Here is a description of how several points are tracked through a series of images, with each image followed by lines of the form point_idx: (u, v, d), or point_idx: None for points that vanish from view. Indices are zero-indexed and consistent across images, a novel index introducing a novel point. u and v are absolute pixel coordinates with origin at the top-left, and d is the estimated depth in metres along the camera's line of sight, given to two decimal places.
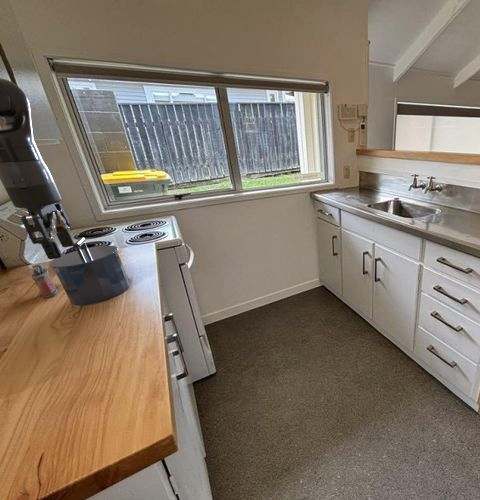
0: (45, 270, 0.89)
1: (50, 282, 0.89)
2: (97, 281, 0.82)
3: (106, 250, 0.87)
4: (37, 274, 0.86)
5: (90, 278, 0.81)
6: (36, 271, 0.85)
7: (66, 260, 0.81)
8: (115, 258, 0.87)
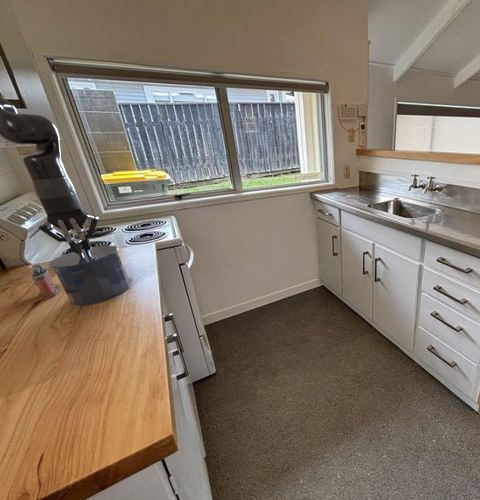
0: (45, 270, 0.89)
1: (50, 282, 0.89)
2: (97, 281, 0.82)
3: (106, 250, 0.87)
4: (37, 274, 0.86)
5: (90, 278, 0.81)
6: (36, 271, 0.85)
7: (66, 260, 0.81)
8: (115, 258, 0.87)
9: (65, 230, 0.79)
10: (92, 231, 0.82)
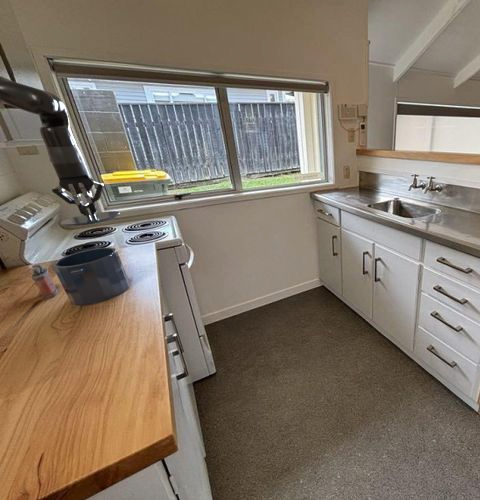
0: (45, 270, 0.89)
1: (50, 282, 0.89)
2: (97, 281, 0.82)
3: (110, 214, 0.99)
4: (37, 274, 0.86)
5: (90, 278, 0.81)
6: (36, 271, 0.85)
7: (75, 220, 0.93)
8: (115, 258, 0.87)
9: (74, 193, 0.91)
10: (98, 195, 0.94)
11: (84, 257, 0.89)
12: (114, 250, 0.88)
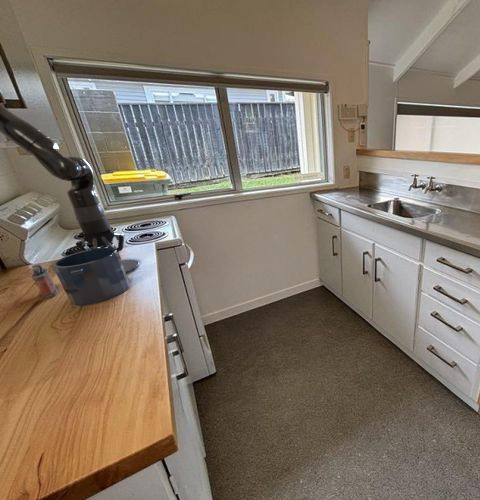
0: (45, 270, 0.89)
1: (50, 282, 0.89)
2: (97, 281, 0.82)
3: (129, 264, 1.07)
4: (37, 274, 0.86)
5: (90, 278, 0.81)
6: (36, 271, 0.85)
7: None
8: (115, 258, 0.87)
9: (96, 247, 0.98)
10: (121, 245, 1.02)
11: (84, 257, 0.89)
12: (114, 250, 0.88)
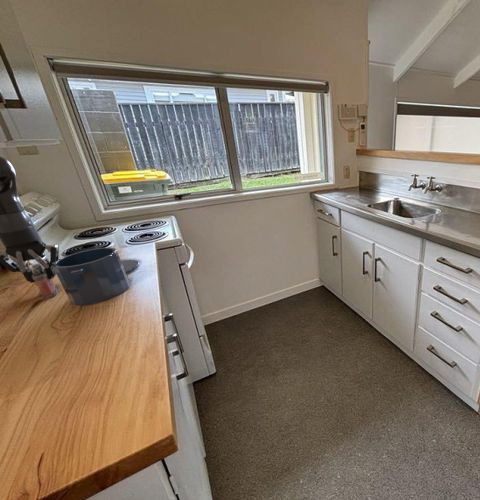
0: None
1: (50, 282, 0.89)
2: (97, 281, 0.82)
3: (129, 264, 1.07)
4: (37, 274, 0.86)
5: (90, 278, 0.81)
6: (36, 271, 0.85)
7: None
8: (115, 258, 0.87)
9: (21, 261, 0.84)
10: (54, 259, 0.87)
11: (84, 257, 0.89)
12: (114, 250, 0.88)
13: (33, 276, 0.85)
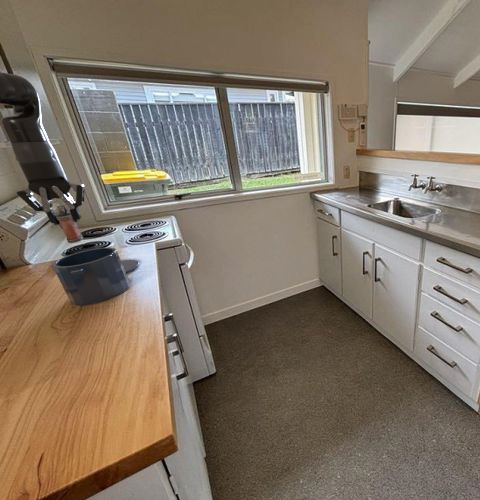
0: (70, 213, 0.82)
1: (75, 225, 0.81)
2: (97, 281, 0.82)
3: (129, 264, 1.07)
4: (62, 215, 0.78)
5: (90, 278, 0.81)
6: (61, 210, 0.77)
7: None
8: (115, 258, 0.87)
9: (45, 199, 0.76)
10: (80, 199, 0.80)
11: (84, 257, 0.89)
12: (114, 250, 0.88)
13: (58, 216, 0.78)
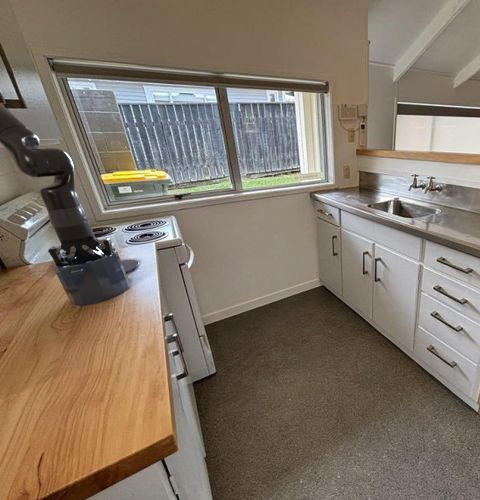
0: None
1: None
2: (97, 281, 0.82)
3: (129, 264, 1.07)
4: None
5: (90, 278, 0.81)
6: None
7: None
8: (115, 258, 0.87)
9: (72, 257, 0.82)
10: (110, 252, 0.86)
11: (84, 257, 0.89)
12: (114, 250, 0.88)
13: None
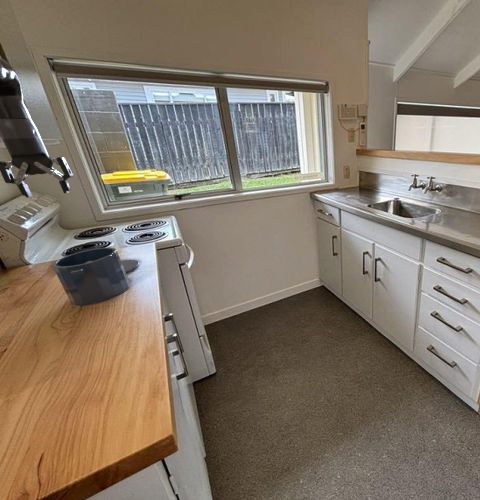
0: None
1: None
2: (97, 281, 0.82)
3: (129, 264, 1.07)
4: None
5: (90, 278, 0.81)
6: None
7: None
8: (115, 258, 0.87)
9: (22, 173, 0.80)
10: (66, 171, 0.84)
11: (84, 257, 0.89)
12: (114, 250, 0.88)
13: None
